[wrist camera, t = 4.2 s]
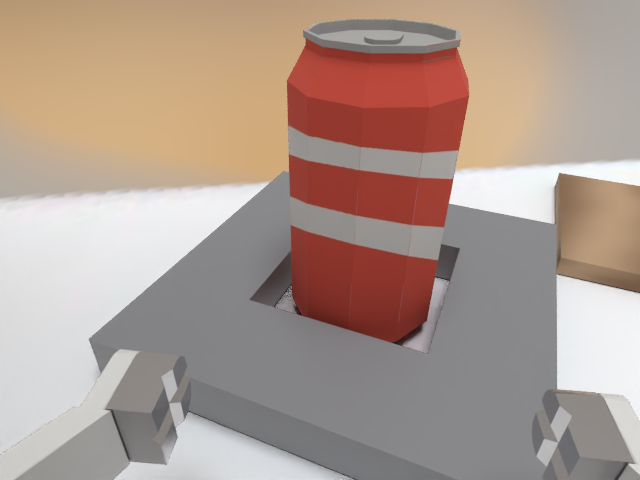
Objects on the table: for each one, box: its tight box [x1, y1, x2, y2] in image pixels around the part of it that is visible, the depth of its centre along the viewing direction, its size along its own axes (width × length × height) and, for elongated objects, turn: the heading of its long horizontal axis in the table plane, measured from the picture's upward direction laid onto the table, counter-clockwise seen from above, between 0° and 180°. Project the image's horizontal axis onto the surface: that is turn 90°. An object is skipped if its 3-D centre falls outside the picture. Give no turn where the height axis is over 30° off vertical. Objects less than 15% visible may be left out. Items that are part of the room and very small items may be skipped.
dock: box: [89, 172, 557, 480], centre depth 21 cm, size 16×16×2 cm
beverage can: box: [287, 19, 469, 342], centre depth 19 cm, size 6×6×12 cm
